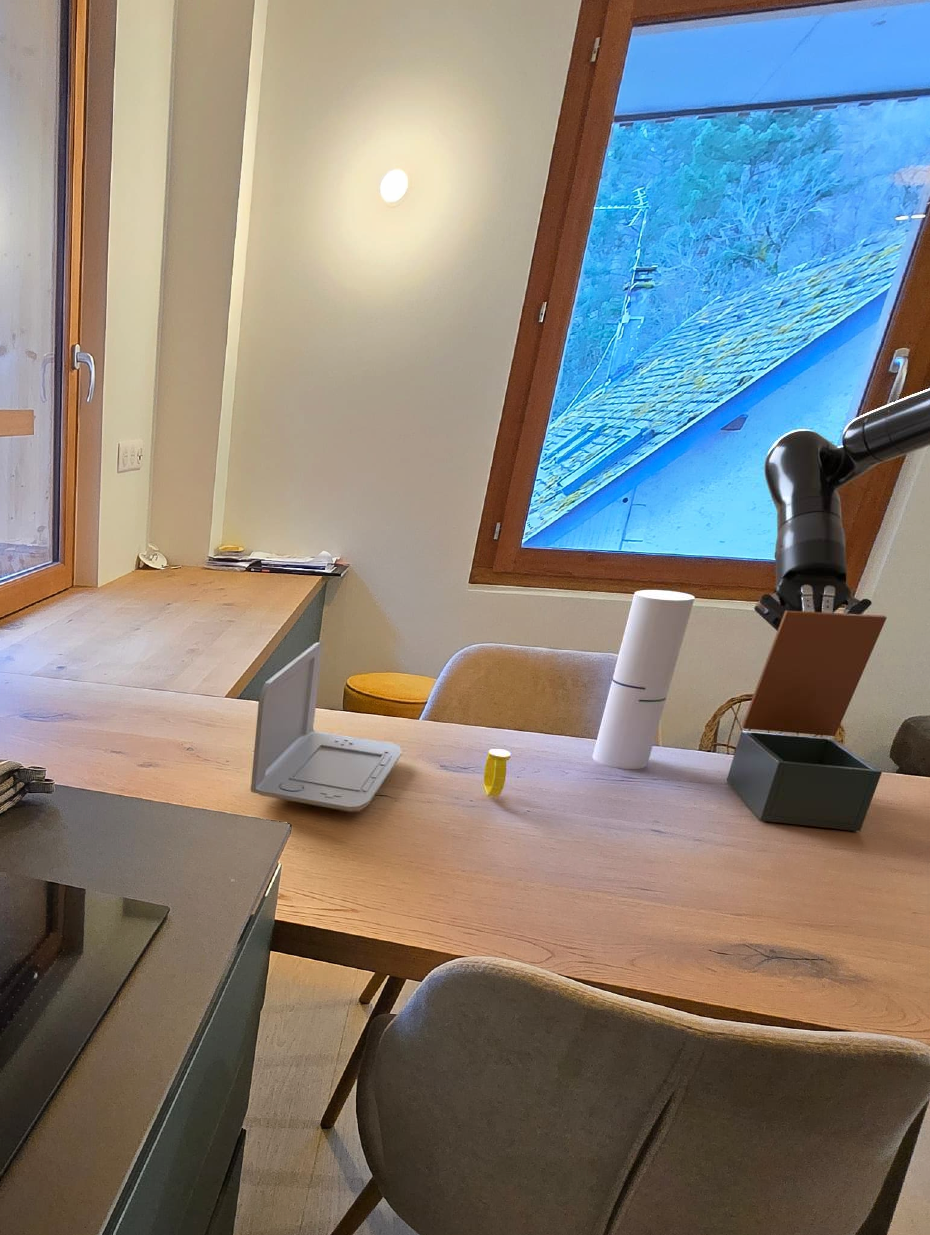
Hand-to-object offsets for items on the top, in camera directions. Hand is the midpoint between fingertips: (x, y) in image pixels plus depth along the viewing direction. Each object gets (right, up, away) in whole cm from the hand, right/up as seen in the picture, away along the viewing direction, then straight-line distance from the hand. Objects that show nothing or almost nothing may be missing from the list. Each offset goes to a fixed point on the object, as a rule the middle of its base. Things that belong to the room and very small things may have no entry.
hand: (813, 659), depth 127 cm
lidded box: (-3, -19, +1) cm, 20 cm away
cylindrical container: (-15, -12, +17) cm, 26 cm away
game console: (-61, -14, +10) cm, 63 cm away
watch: (-40, -17, +5) cm, 44 cm away
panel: (0, -2, 0) cm, 2 cm away
